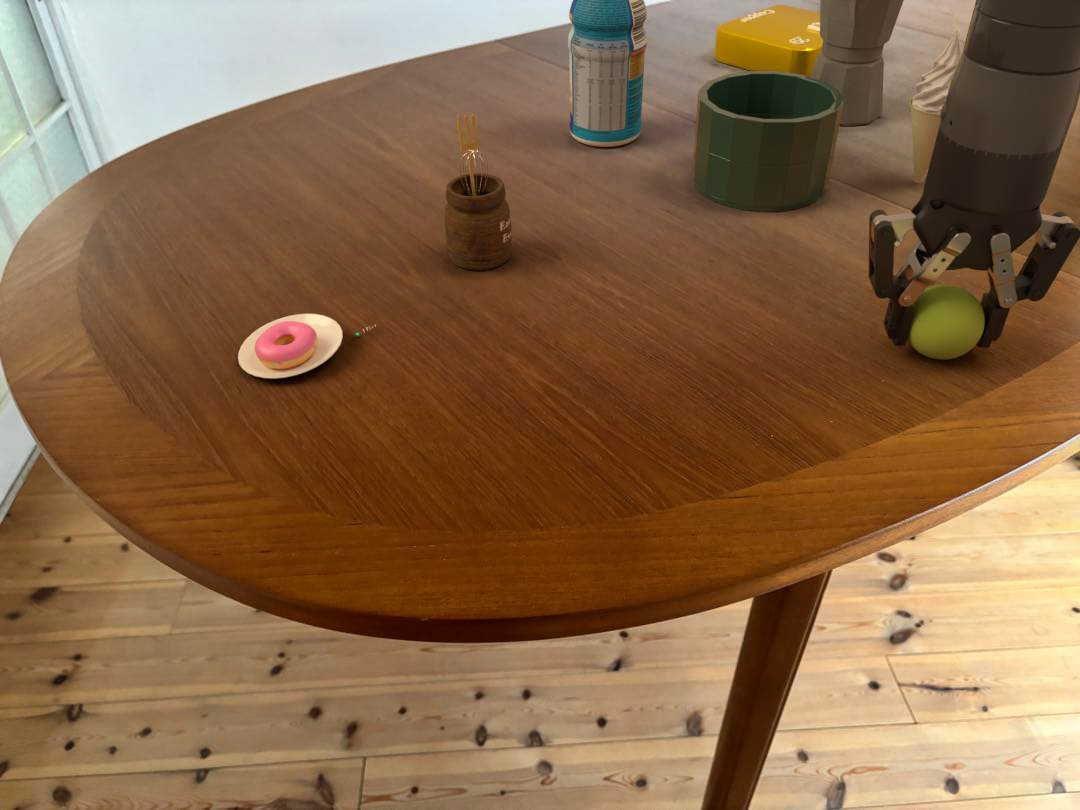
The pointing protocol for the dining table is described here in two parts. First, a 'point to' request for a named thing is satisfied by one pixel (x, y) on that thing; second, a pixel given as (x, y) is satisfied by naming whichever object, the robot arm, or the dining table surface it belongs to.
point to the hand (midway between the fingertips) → (938, 340)
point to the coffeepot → (855, 54)
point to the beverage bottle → (606, 70)
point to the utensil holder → (476, 213)
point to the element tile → (771, 40)
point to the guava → (946, 322)
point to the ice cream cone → (931, 105)
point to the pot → (765, 140)
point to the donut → (290, 346)
